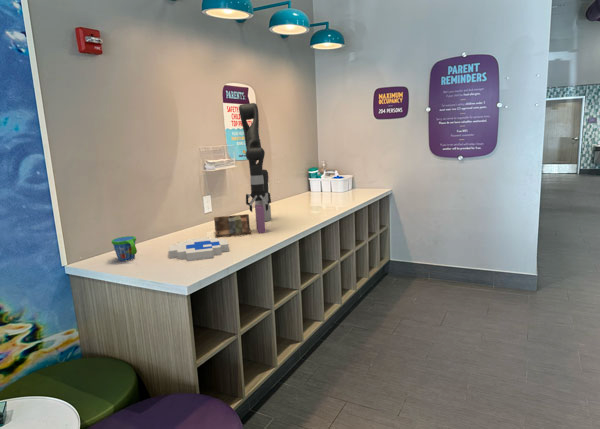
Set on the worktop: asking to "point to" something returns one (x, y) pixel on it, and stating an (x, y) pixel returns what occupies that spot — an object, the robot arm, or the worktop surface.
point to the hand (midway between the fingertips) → (259, 211)
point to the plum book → (260, 218)
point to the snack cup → (125, 247)
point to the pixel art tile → (198, 248)
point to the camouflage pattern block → (232, 225)
